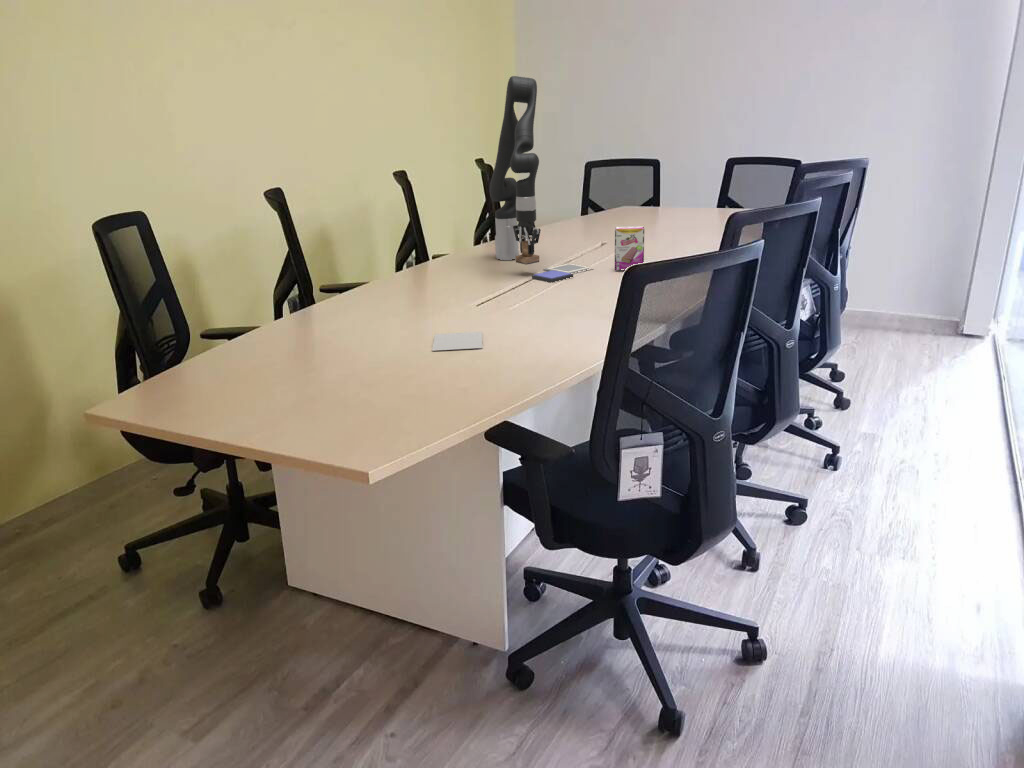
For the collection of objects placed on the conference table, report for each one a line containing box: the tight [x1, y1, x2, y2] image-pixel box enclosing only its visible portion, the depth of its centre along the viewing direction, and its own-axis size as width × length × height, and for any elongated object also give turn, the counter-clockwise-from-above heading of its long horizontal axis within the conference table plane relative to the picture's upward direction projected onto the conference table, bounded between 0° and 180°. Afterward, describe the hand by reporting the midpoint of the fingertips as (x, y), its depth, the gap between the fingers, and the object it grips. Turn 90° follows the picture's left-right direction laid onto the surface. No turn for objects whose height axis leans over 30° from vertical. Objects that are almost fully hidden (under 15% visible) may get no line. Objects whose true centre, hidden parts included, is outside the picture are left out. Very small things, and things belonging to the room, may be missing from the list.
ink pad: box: [531, 270, 574, 283], centre depth 312 cm, size 11×11×2 cm
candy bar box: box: [614, 225, 645, 272], centre depth 317 cm, size 11×5×16 cm, turn 84°
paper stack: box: [431, 331, 483, 352], centre depth 235 cm, size 23×25×1 cm
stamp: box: [515, 239, 540, 265], centre depth 318 cm, size 6×6×8 cm
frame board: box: [542, 262, 591, 273], centre depth 325 cm, size 14×14×1 cm
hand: (527, 253), depth 318 cm, fingers closed on stamp, 4 cm apart
